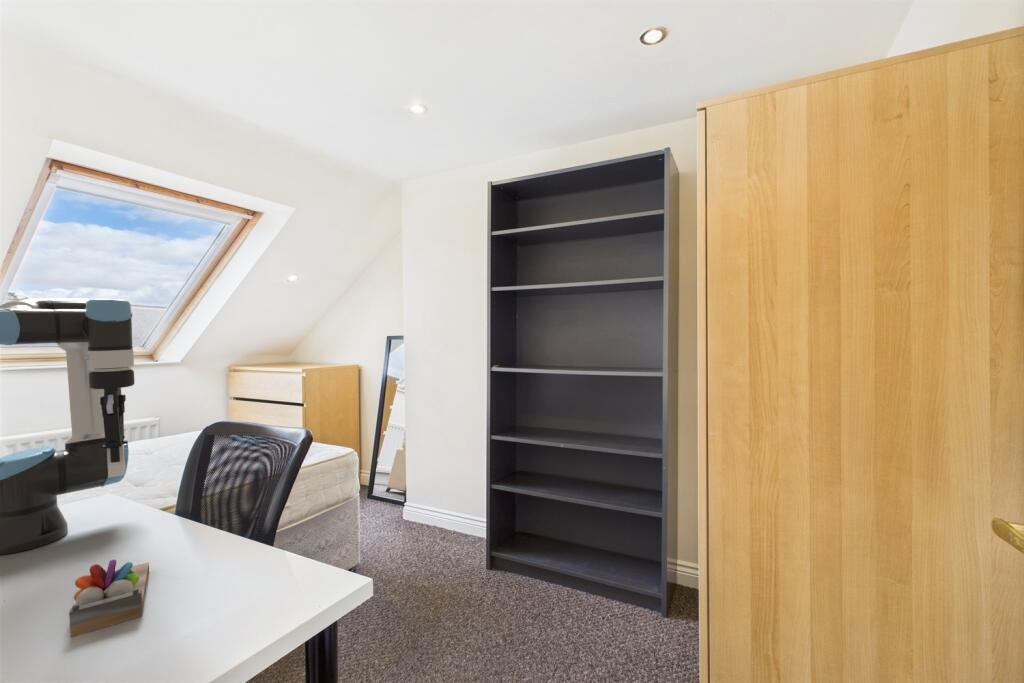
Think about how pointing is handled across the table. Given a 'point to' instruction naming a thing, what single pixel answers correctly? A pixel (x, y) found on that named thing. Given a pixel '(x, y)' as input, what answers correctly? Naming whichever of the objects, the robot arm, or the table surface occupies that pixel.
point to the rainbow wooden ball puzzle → (105, 583)
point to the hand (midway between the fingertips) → (116, 475)
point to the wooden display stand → (111, 607)
